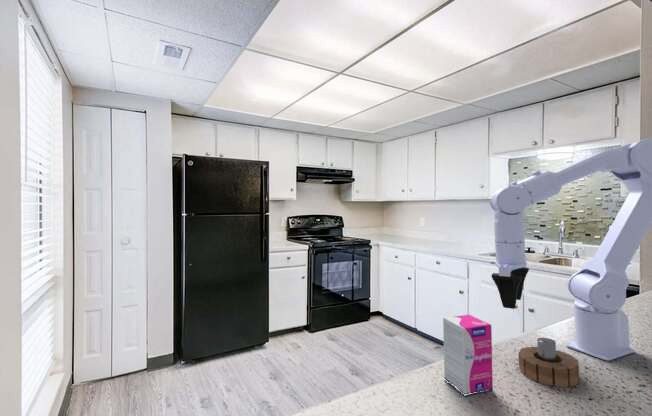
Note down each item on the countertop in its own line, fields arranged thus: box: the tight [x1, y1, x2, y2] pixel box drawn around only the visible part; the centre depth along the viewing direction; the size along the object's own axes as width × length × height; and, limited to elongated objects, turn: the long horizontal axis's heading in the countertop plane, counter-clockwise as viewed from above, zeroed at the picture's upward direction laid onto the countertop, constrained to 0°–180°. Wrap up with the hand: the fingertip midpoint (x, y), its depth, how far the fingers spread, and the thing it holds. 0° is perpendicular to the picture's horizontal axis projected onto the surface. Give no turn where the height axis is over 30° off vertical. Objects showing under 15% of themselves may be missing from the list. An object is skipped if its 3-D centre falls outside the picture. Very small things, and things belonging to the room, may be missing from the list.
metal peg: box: [536, 337, 557, 363], centre depth 60 cm, size 3×3×6 cm
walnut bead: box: [518, 346, 580, 388], centre depth 60 cm, size 9×9×3 cm
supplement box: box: [442, 314, 494, 394], centre depth 57 cm, size 6×6×12 cm
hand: (512, 303), depth 72 cm, fingers open, 7 cm apart
